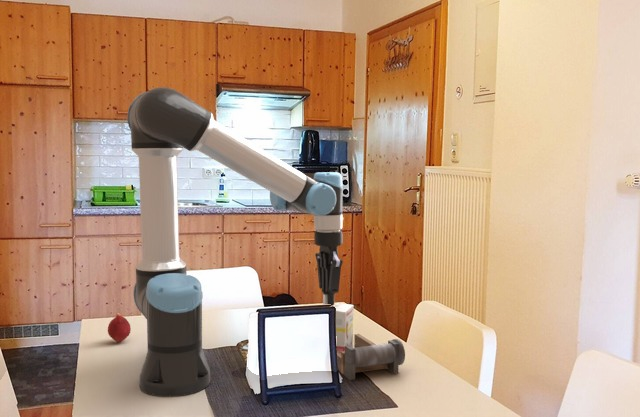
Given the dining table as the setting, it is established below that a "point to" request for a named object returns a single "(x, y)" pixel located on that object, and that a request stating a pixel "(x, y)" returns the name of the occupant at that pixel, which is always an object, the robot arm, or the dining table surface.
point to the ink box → (344, 325)
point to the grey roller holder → (370, 356)
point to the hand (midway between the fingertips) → (328, 316)
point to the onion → (119, 328)
